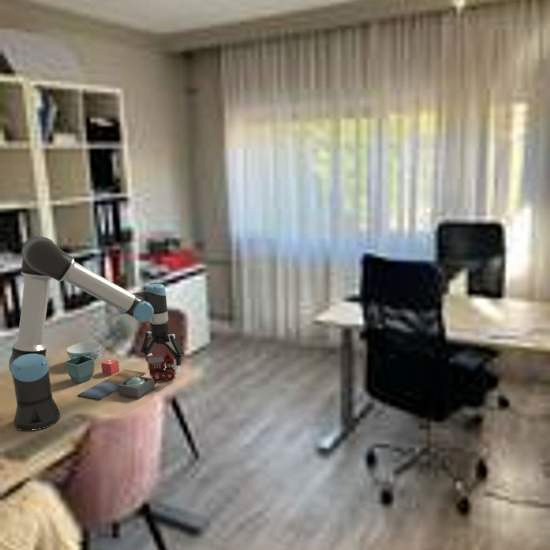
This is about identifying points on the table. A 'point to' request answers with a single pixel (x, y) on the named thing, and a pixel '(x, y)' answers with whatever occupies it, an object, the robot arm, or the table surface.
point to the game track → (109, 385)
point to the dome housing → (135, 388)
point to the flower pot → (80, 368)
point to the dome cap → (135, 381)
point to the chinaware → (84, 350)
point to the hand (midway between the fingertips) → (164, 370)
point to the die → (110, 367)
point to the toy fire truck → (161, 367)
